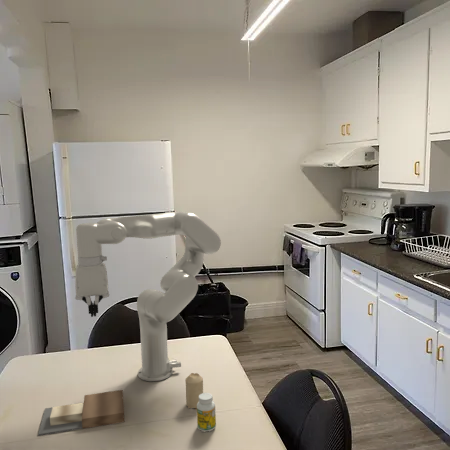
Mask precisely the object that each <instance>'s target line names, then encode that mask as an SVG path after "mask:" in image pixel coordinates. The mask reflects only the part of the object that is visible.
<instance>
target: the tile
mask: <svg viewBox="0 0 450 450" xmlns="http://www.w3.org/2000/svg"><path fill="white" fill-rule="evenodd" d="M83 404H84V402H80V403H79V402H78V403H73V404H72V403H71V404H66V405H65V404H64V405H58V406H52V407H53V408H52V412H51V415H50V426H52V425H59V424H65V423H72V422H78V421H82V413H83Z"/></svg>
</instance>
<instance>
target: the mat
mask: <svg viewBox="0 0 450 450" xmlns="http://www.w3.org/2000/svg"><path fill="white" fill-rule="evenodd" d="M53 407H54V406H51V407H46V408H44V412H43V416H42V419H41V423H40V426H39V431H38V433H37V435H38V437H41V436H45V435H51V434H57V433H58V434H59V433H65V432H69V431H76V430H83V429H82V421H78V422H72V423H65V424H59V425H52V426H50V415H51V412H52V408H53Z"/></svg>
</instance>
